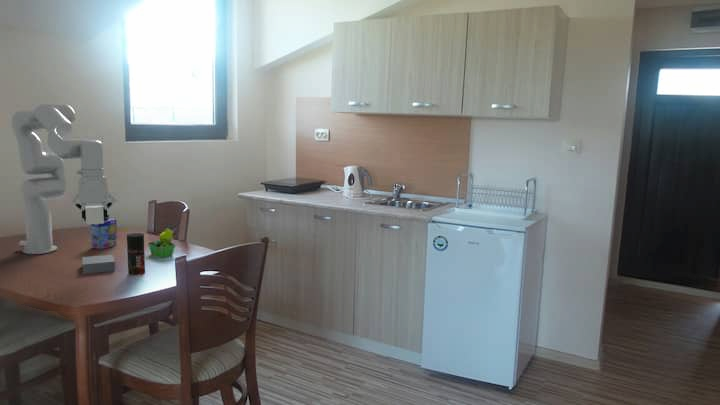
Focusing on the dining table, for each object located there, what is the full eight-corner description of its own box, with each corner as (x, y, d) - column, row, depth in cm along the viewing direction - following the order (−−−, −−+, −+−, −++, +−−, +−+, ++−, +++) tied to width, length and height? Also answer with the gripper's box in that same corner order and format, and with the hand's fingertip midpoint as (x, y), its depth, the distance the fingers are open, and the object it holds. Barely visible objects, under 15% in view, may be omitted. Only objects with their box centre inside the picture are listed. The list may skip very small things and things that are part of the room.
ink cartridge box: (100, 249, 233) (98, 217, 231) (91, 248, 235) (89, 216, 233) (118, 244, 242) (116, 214, 240) (109, 243, 244) (107, 212, 242)
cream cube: (86, 224, 198) (85, 208, 198) (86, 221, 204) (85, 206, 203) (103, 223, 201) (103, 208, 200) (103, 220, 206) (102, 205, 206)
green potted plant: (147, 254, 229) (146, 228, 227) (166, 250, 235) (165, 226, 233) (159, 259, 221) (158, 233, 219) (179, 255, 227) (178, 230, 226)
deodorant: (134, 276, 197) (133, 237, 195) (124, 273, 200) (123, 235, 198) (148, 272, 202) (147, 234, 200) (138, 269, 205) (137, 232, 203)
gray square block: (83, 274, 199) (82, 264, 198) (82, 267, 208) (82, 257, 207) (115, 271, 204) (114, 261, 203) (113, 264, 213) (112, 254, 213)
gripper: (66, 174, 192) (69, 223, 195) (118, 173, 200) (120, 220, 203) (67, 172, 199) (69, 219, 202) (117, 171, 207) (119, 216, 210)
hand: (94, 219), depth 202 cm, fingers closed on cream cube, 6 cm apart
